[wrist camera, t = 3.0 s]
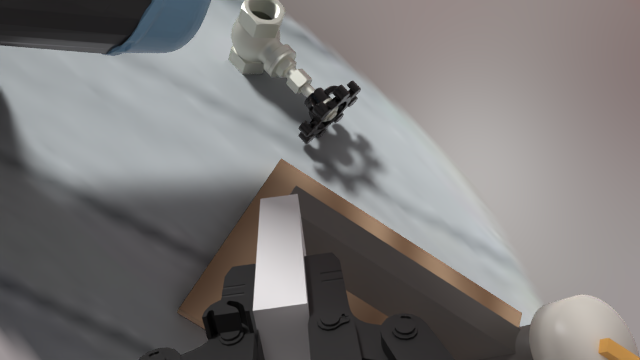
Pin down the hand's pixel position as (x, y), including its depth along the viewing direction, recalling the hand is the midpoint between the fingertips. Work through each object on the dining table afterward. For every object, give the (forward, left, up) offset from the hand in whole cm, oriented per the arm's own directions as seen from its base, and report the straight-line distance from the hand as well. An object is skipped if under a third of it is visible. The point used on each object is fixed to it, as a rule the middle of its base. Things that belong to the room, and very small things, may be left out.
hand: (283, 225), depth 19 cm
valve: (-6, +19, -17) cm, 26 cm away
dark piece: (+10, +4, -15) cm, 18 cm away
